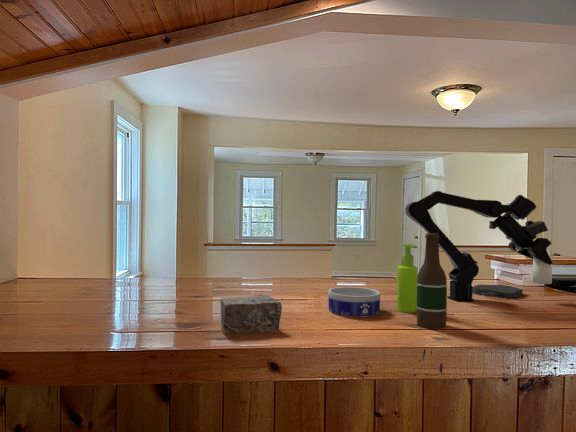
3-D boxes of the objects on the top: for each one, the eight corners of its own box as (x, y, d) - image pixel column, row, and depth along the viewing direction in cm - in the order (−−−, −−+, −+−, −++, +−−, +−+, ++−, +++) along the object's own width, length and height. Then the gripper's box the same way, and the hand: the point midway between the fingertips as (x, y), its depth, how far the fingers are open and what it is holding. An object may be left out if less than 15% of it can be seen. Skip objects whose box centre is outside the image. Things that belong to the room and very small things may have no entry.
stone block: (270, 322, 109) (270, 293, 109) (281, 330, 101) (282, 300, 101) (217, 326, 104) (218, 296, 104) (225, 336, 96) (225, 303, 96)
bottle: (541, 284, 134) (542, 246, 133) (529, 281, 139) (529, 245, 139) (555, 283, 135) (556, 246, 135) (542, 281, 140) (543, 245, 140)
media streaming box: (525, 295, 150) (525, 287, 150) (511, 300, 140) (511, 292, 140) (484, 289, 161) (484, 282, 161) (468, 294, 151) (468, 286, 151)
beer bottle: (422, 320, 112) (423, 232, 112) (451, 325, 107) (452, 233, 107) (410, 325, 106) (411, 233, 106) (441, 331, 101) (442, 234, 101)
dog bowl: (364, 304, 132) (364, 285, 132) (390, 315, 117) (390, 294, 117) (320, 307, 127) (320, 287, 127) (341, 319, 112) (341, 297, 112)
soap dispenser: (405, 314, 118) (406, 245, 118) (393, 308, 125) (393, 243, 125) (423, 313, 120) (423, 244, 120) (410, 307, 127) (410, 243, 126)
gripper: (544, 212, 128) (582, 248, 127) (518, 212, 146) (550, 244, 145) (518, 237, 129) (554, 273, 128) (494, 234, 147) (526, 265, 146)
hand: (546, 262), depth 137 cm, fingers closed on bottle, 5 cm apart
